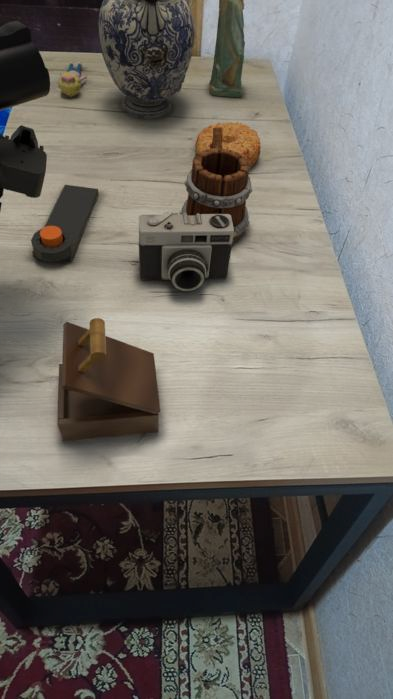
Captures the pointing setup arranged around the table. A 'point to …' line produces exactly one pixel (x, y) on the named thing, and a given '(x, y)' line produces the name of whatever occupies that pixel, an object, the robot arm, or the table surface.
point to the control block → (67, 223)
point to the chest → (99, 417)
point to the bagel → (232, 140)
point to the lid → (108, 368)
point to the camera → (185, 248)
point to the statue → (228, 50)
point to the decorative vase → (147, 51)
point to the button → (51, 236)
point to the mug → (219, 184)
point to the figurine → (71, 80)
